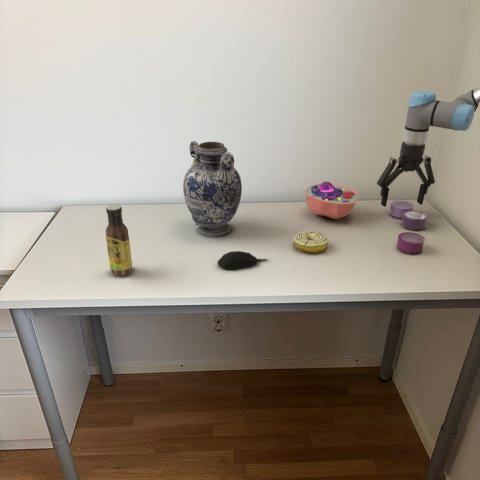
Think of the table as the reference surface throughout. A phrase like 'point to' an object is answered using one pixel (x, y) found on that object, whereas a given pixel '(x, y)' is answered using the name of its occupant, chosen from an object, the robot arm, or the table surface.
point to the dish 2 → (410, 242)
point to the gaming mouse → (237, 260)
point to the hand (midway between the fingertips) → (401, 204)
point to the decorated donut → (310, 242)
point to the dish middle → (414, 220)
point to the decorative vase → (212, 188)
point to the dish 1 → (400, 208)
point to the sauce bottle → (118, 242)
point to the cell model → (330, 200)
